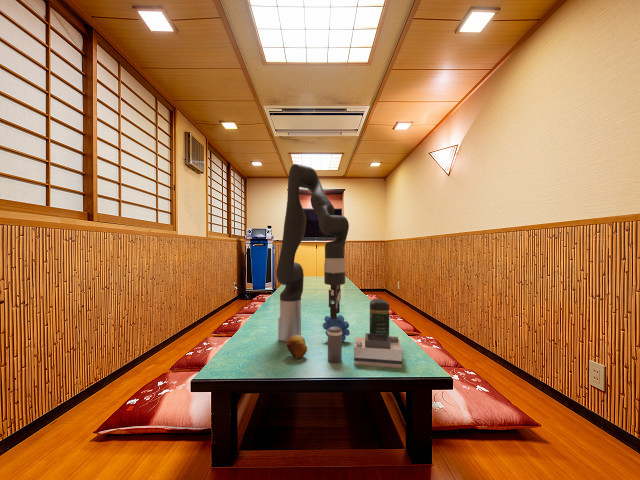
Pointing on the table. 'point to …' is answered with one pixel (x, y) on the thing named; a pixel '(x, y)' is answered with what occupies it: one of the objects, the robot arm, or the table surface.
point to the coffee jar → (379, 316)
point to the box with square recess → (378, 351)
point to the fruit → (297, 346)
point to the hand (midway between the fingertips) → (335, 316)
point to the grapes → (337, 325)
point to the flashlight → (334, 344)
